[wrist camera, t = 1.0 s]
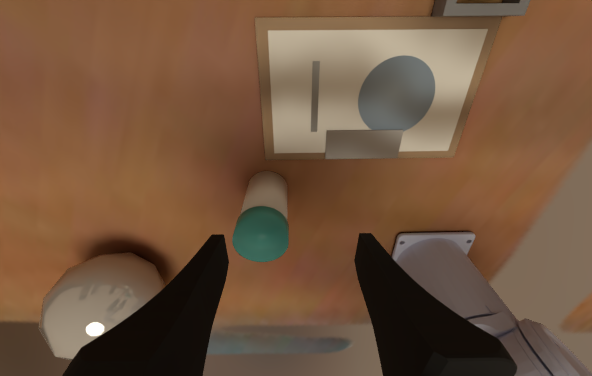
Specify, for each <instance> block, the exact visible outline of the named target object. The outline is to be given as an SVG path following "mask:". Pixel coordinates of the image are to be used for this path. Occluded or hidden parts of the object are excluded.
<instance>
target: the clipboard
mask: <svg viewBox="0 0 592 376" xmlns="http://www.w3.org/2000/svg"><path fill="white" fill-rule="evenodd" d="M501 19H502V16H458V17H282V18H255V29H256V42H257V56H258V69H259V82H260V96H261V109H262V122H263V136H264V149H265V160H308V159H377V158H445V157H454V155H455V152H456V149H457V146H458V143H459V140H460V137H461V134H462V131H463V129H464V126H465V123H466V120H467V117H468V114H469V111H470V108H471V106H472V103H473V100H474V97H475V94H476V91H477V88H478V85H479V82H480V80H481V77H482V74H483V71H484V68H485V65H486V62H487V59H488V56H489V54H490V51H491V48H492V45H493V42H494V39H495V36H496V33H497V31H498V28H499V25H500V22H501Z"/></svg>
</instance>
